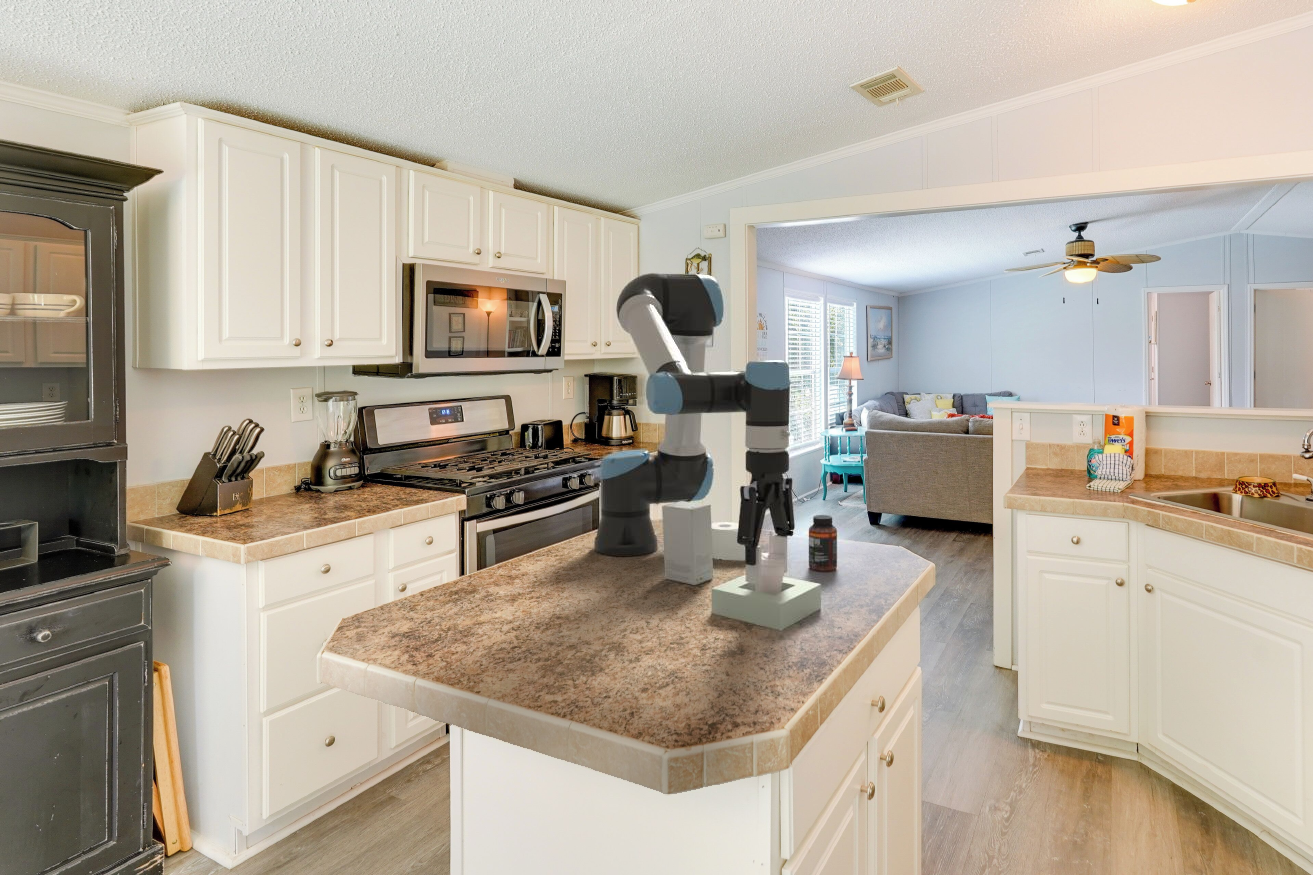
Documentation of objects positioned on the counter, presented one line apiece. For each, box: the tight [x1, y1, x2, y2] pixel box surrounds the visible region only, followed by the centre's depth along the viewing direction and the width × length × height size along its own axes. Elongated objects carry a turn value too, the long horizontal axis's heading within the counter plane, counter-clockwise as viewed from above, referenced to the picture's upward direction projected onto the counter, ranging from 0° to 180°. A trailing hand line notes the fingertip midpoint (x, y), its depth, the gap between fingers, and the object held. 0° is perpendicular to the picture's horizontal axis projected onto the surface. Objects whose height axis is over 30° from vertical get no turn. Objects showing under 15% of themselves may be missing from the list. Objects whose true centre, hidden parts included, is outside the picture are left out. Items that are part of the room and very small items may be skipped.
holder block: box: [711, 574, 822, 632], centre depth 132 cm, size 14×14×4 cm
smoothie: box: [755, 531, 788, 595], centre depth 132 cm, size 6×6×14 cm
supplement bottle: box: [808, 514, 838, 572], centre depth 159 cm, size 6×6×11 cm
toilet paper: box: [711, 521, 745, 561], centre depth 171 cm, size 8×11×7 cm
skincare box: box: [661, 501, 714, 586], centre depth 152 cm, size 8×7×16 cm
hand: (766, 576), depth 132 cm, fingers open, 8 cm apart
